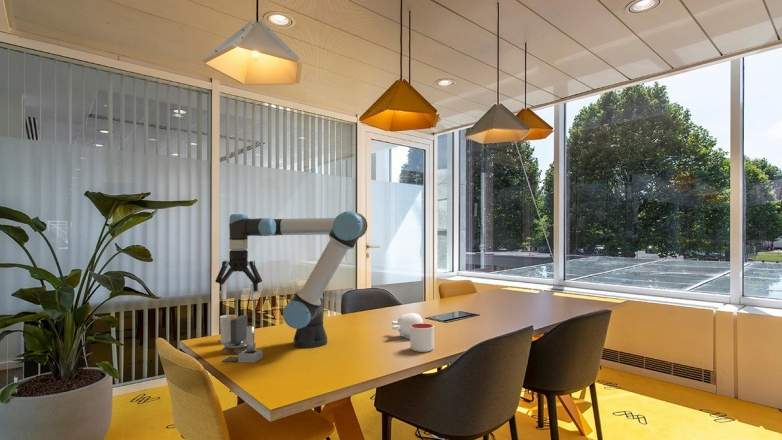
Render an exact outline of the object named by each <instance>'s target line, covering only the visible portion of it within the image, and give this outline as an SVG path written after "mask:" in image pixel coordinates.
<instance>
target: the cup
mask: <svg viewBox="0 0 782 440" xmlns="http://www.w3.org/2000/svg"><path fill="white" fill-rule="evenodd" d="M409 342H410V349H411V350H412V351H414V352H417V353H427V352H432V351H433V350H434V348H435V325H433V324H432V323H431V324H430V323H424V322H423V323H420V324H413V325H411V326H410V341H409Z"/></svg>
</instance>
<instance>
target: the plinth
mask: <svg viewBox="0 0 782 440" xmlns="http://www.w3.org/2000/svg"><path fill="white" fill-rule="evenodd" d="M256 345H257V344H256V342H254V349H256ZM246 349H247V348H242V349H227V348H225V347H223V348H222V350H221V353H222V354H227V355H228V354H229V355H231V354H232V355H238V354H239V353H241V352H243V351H244V350H246Z"/></svg>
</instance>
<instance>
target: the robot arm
mask: <svg viewBox="0 0 782 440" xmlns="http://www.w3.org/2000/svg"><path fill="white" fill-rule="evenodd" d="M228 225H229V227H228V228H229V237H228V239H229V242H228V243H229V245H228V248H229V251H228V253H229V254H228V257H229V260H222V263H221V268H220V270H219V271H218V274H217V276H216V278H215V280H214V282H215V283H218V284H219V292H221V295H220V296H221V300H226V299H227V283H226V281H227V280H228V279H229V278H230V276H231V275H233V273H235V272H239V273H241V272H243V273H244V274H245V275H246V277H247V278H248V279H249V281H250V282H251V283H252V284H251V287H250V289H251V292H250V294H251V295H250V297H251V298H250V299H251V300H252V301H253V300H256V299H257V292H258V289H259V288H258V287H259V286H258V285H259V283H262V281H263V279H262V277H261V275H260V273H259V271H258V269H257V267H256V261H255V260H250V261H249V260H248V259H249V253H248V252H249V251H248V250H247V249H248V248H249V247H248V244H249V243H248V241H249V240H248V239H249V237H251V236H252V237H268V236H269V237H270V236H275V237H276V236H311V235H312V236H313V235H314V236H316V235H317V236H319V235H320V236H324V235H325V236H326V235H327V236H329V241H328V242H327V244H326V246H325V248H324V250H323V251H322V253H321V254H320V257H319V259H318V260H317V262H316V264H315V266H314V267H313V269H312V271H311V273H310V274H309V276H308V278H307V280H306V282H305V283H304V285H303V286H302V288H301V289H297V290H296V292H295V294H294V295H293V297H292V298H291V301H289V302H288V303H286V305H285V306H284V308H283V311H282V318H283V321H284V323H285V324H286V325H287V326H288V327H289V328H291V329H295V333H294V337H293V344H292V345H293V346H294V347H297V348H298V347H299V348H306V349H308V348H316V347H317V348H318V347H322V346H325V345H327V344H328V336H327V333H326V330H325V326H324V292H325V291H326V289H327V287H328V285H329V283H330V282H331V280H332V278H334V277H333V276H335V273H336V272H337V270H338V267H339V266H340V264H341V263H342V261H343V259H344V257H345V256H346V254H347V252H348V251H349V250H353V249H354V247H355V245H356V244H357V242H358V240H359V239H360V238H362V237H363V236H364V235H365V234H366V232H367V230H368V222H367V219H366V218H365V216H364V215H363V214H362V213H359V212H354V211H351V210H350V211H349V210H348V211H343V212H341V213H340V214H337V215H336V217H316V218H315V217H313V218H312V217H309V218H308V217H307V218H270V217H263V218H262V217H261V218H250V217H249V216H248V214H246V213H233V214H232V213H231V214H230V215H229V223H228ZM228 266H229V268H228ZM248 266H249V267H250V269H249V268H248ZM226 270H227V272H226ZM250 270H251V271H250Z"/></svg>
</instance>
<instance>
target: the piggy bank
mask: <svg viewBox="0 0 782 440" xmlns="http://www.w3.org/2000/svg"><path fill="white" fill-rule="evenodd" d="M420 323H424V320H423V318H422V316H421V315H420V314H418V313H414V312H412V313H411V312H410V313H405V314H403V315H401V316H399V318H398V319H397V321H396V320H391V324H392V327H391V328H392V330H394V331H395V330H398V332H399V336H400V337H403V338H406V339H410V326H411V325H413V324H420Z"/></svg>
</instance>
